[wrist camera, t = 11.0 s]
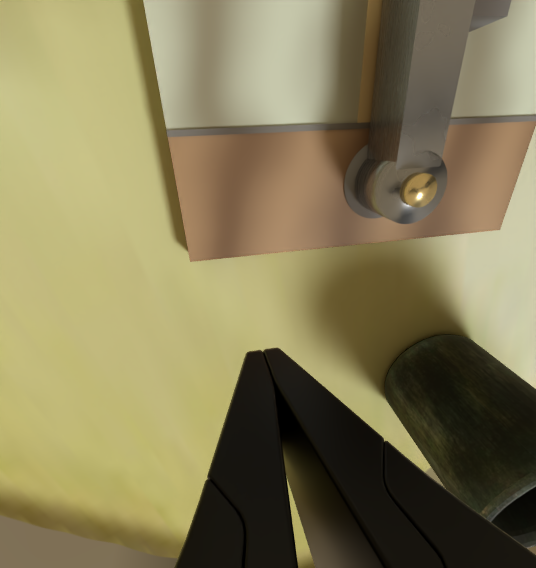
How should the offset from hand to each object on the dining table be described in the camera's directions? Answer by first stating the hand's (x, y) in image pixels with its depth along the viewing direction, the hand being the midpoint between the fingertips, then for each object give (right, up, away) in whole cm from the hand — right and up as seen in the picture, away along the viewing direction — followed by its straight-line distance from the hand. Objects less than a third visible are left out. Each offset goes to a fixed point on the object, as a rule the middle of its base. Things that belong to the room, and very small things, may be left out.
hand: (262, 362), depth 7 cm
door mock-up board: (+6, +12, +9) cm, 16 cm away
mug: (+17, -8, +22) cm, 29 cm away
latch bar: (+7, +12, +7) cm, 16 cm away
